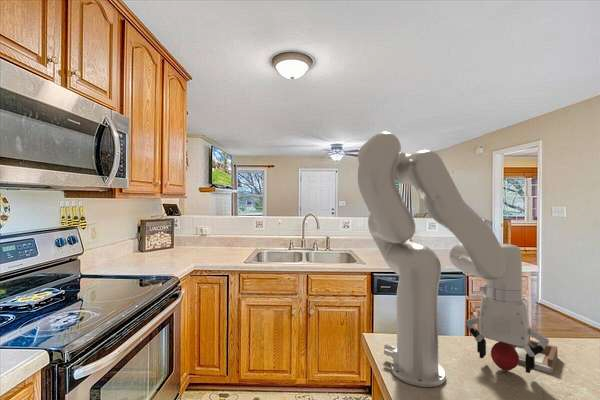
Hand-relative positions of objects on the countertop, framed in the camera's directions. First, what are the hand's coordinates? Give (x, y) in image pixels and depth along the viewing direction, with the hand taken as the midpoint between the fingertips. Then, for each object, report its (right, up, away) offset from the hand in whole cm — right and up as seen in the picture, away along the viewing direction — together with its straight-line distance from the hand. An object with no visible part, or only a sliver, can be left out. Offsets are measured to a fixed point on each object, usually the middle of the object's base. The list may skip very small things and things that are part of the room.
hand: (504, 363), depth 75 cm
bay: (+11, -2, +6) cm, 13 cm away
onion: (0, -2, 0) cm, 2 cm away
